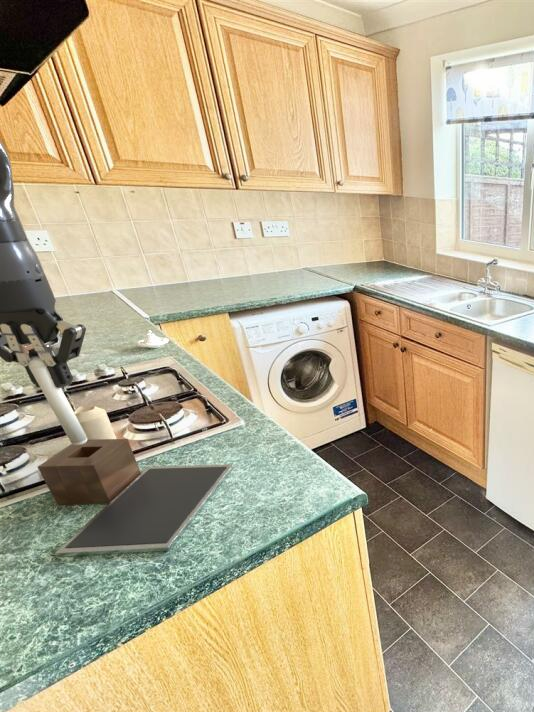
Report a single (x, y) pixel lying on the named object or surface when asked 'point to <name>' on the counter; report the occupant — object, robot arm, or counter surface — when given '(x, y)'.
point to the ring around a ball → (152, 341)
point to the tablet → (149, 511)
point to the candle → (94, 422)
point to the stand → (90, 472)
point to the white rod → (58, 402)
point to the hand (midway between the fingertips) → (55, 385)
